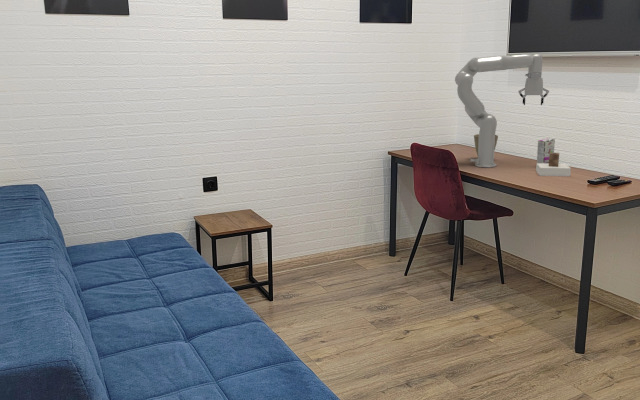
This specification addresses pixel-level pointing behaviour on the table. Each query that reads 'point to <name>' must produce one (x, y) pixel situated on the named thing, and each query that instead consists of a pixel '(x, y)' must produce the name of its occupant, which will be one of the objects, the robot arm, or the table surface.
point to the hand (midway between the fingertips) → (532, 104)
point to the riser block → (552, 170)
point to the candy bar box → (545, 150)
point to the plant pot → (476, 140)
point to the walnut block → (554, 159)
